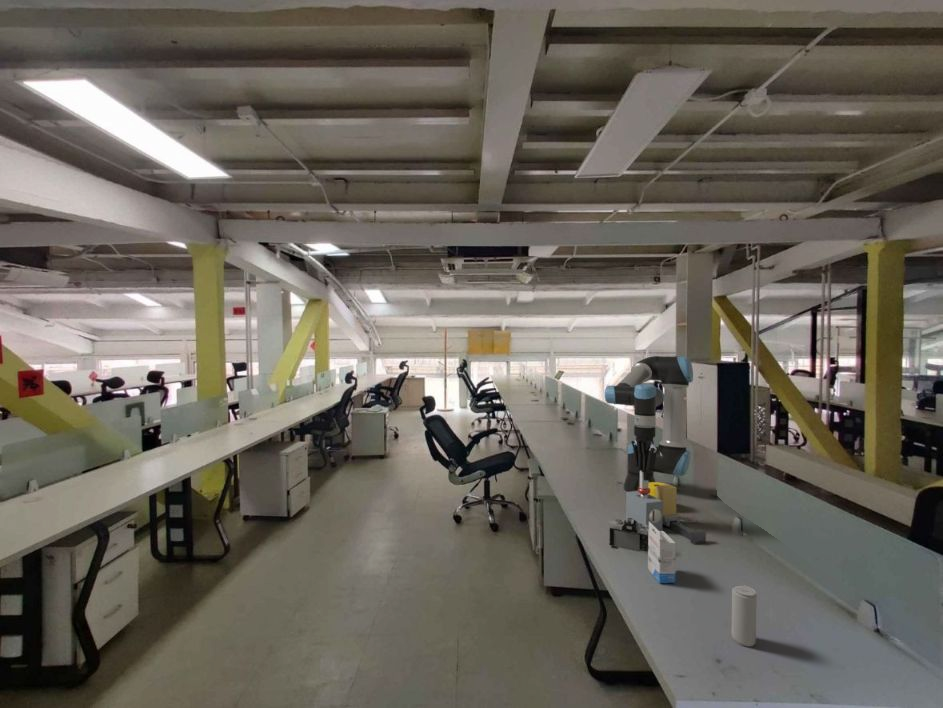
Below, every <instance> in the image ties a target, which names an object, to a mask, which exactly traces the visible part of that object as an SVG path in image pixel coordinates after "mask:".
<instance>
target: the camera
mask: <svg viewBox="0 0 943 708" xmlns="http://www.w3.org/2000/svg"><path fill="white" fill-rule="evenodd" d="M608 525H609V543H608V545H609V546H611V547H613V548H620V549H624V550H625V549H626V550H629V551H634V552H638V553H644V554H648V532H649V526H648V525H644V526H643V524H641V523H638V522H637V521H636V520H634V519H633V518H627V519H626V518H625V519H624V520H623V519H621V518H616V519H615V520H611V521H610V522H608ZM652 530H653V529H652ZM653 531H655V530H653Z"/></svg>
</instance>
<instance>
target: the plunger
mask: <svg viewBox="0 0 943 708" xmlns="http://www.w3.org/2000/svg"><path fill="white" fill-rule="evenodd" d="M638 492H640V498H642V499H646V498H648V494H649V493H650V488H646V489H641V488H640V487H638Z"/></svg>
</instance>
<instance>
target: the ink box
mask: <svg viewBox="0 0 943 708" xmlns="http://www.w3.org/2000/svg"><path fill="white" fill-rule="evenodd" d="M652 529H653V530H655V531H653V530H652ZM676 550H677V543H676V542H675V541H674V539H672V538H671V537H670V536H669V535H668V534H667V533H666V532H665V531H663V530H662V531H658V530H657V529H656V528H655V527H654V526H653V525H652V524H651V523H650V522H649V532H648V553H647V554H648V555H647V569H648V571H649V572H650V573H651V574H652V575H653V577H654V578H655V579H656V581H657V582H658V583H660V584H676V568H677V567H676V565H677V564H676V554H677V553H676V552H677V551H676Z"/></svg>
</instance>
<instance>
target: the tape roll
mask: <svg viewBox="0 0 943 708" xmlns="http://www.w3.org/2000/svg"><path fill="white" fill-rule="evenodd" d="M658 485H668V484H667V483H663V482H657V481H655V482H649V483H648V488H650V493H649V494H650V495H652V496H654V497H656V486H658Z"/></svg>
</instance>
